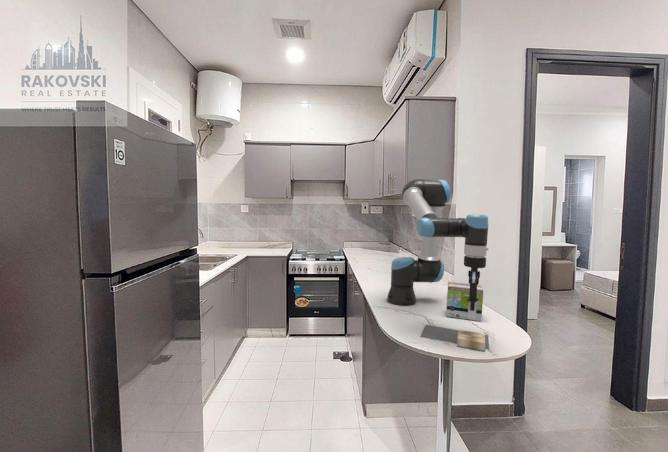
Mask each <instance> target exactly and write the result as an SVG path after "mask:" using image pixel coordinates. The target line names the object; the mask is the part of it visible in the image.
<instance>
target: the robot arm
mask: <svg viewBox="0 0 668 452" xmlns="http://www.w3.org/2000/svg"><path fill="white" fill-rule="evenodd" d="M451 192H452V191H451V187H450V185H449V182H448V181H446V180H444V179H438V178H437V179H436V178H435V179H432V178H431V179H427V178H426V179H425V178H423V179H420V178H417V179H412V180H410V181H409V182H407V183H406V184H405V185H404V186H403V188H402V191H401V198H402V200H403V202H404V204H405V205H407V206H408V207H409V208H410V209H411V211H412V214H413V215H414V217H415V218H416V220H417V223H416V231H417V234H418V235H419V236H420V237H422V238H421V245H420V246H421V249H420V254H418V255H417V259H415V258H414V257H412V256H400V257H395V258H394V259H393V260H392V261H391V266H390V269H391V272H390V273H391V274H390V288H389V290H388V294H387V296H386V301H387V302H388V303H389V304H391V305H395V306H396V305H397V306H404V307H405V306H413V305H416V304H417V296H416V294H415V290H414V283H430V284H431V283H439V282H440V281H441V280H442V279H443V278H444V277H443V276H444V273H445V267H444V266H445V264H444V262H443V260H441V257H440V256H439V244H440V238H464V248H463V250H464V251H463V254H464V257H463V266H465V267H467V268H470V270H468V272H467V273H468V274H467V276H468V284H470V292H469V299H467V301H469V305H468V318H471V319H476V304H477V301H478V299H477V298H476V297H477V285H480V284H479V283H480V278H481V271H479V270H478V269H484V268H486V266H487V257H486V256H487V251H489V247H487V244H488V237H489V236H488V234H489V233H488V232H489V217H488V215H486V214H474V213H473V214H470V213H469V214H467V215H466V216H465V217H458V218H457V217H455V218H453V217H451V218H450V217H449V218H448V217H447V218H446V217H442V212H443V211H442V210H443V209H444V208H446V204H448V203H449V202H450V200H451V196H452V194H451Z"/></svg>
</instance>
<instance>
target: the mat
mask: <svg viewBox="0 0 668 452" xmlns="http://www.w3.org/2000/svg"><path fill="white" fill-rule="evenodd" d="M423 327H424V328H423V329H422V330H421V333H420V336H419V337H420V338H424V339H430V340H436V341H440V342H446V343H451V344H457V340H458V332H459V330H460V329H454V328H449V327H448V328H447V327H443V326H436V325H430V324H425V325H424V326H423ZM485 350H490V339H489V334H485Z"/></svg>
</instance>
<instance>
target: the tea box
mask: <svg viewBox="0 0 668 452" xmlns="http://www.w3.org/2000/svg"><path fill="white" fill-rule="evenodd" d="M469 292H470V284H469V283H464V282H455V281H448V282H447V293H446V294H447V296H446V313H445V315H446V317H447V318H448V317H449V318H456V319H464V320H469V321H476V322H482V316H483V303H484V302H483V301H484V300H483V299H484V289H483V286H482V284H478V285H477V297H476V298H477V299H478V301H477V304H476V319H471V318H468V305H469V301H467V299H469Z"/></svg>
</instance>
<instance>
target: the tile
mask: <svg viewBox="0 0 668 452" xmlns="http://www.w3.org/2000/svg"><path fill="white" fill-rule="evenodd" d="M458 330H459V332H458V340H457V345H456V347H459V348H464V349H468V350H474V351H479V352H480V351H481V352H484V353H485V352H486V349H485V335H486V334H485V333H480V332H475V331H470V330H464V329H458Z"/></svg>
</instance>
